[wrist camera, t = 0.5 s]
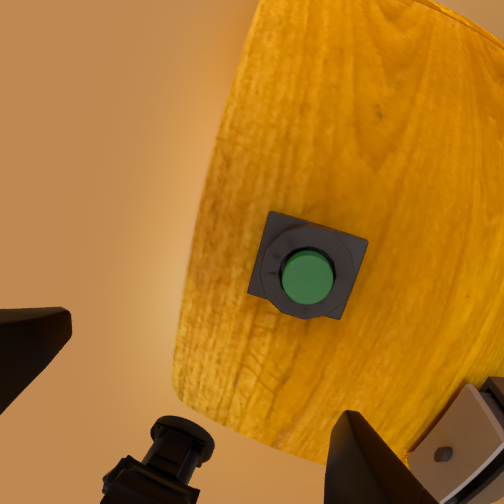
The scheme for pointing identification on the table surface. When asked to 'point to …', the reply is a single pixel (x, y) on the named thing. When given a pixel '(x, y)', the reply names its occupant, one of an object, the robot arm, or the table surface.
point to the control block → (301, 239)
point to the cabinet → (500, 480)
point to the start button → (307, 277)
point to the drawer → (461, 447)
